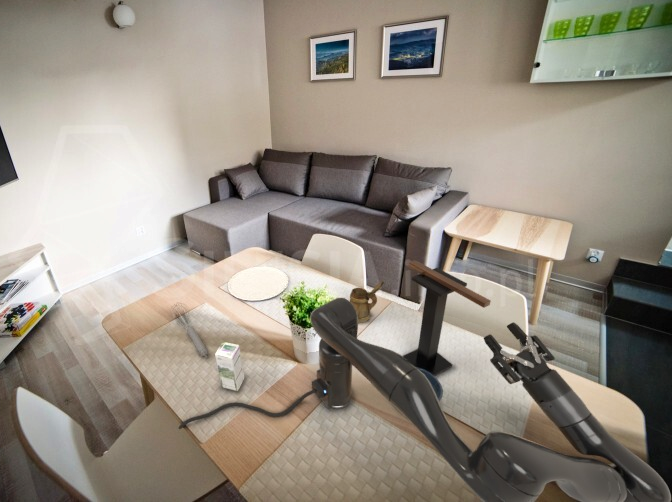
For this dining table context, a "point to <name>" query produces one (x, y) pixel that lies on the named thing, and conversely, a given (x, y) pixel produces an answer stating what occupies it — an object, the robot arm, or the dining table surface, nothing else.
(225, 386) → the syrup box
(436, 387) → the bowl
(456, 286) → the stirring paddle
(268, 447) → the dining table surface
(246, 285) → the plate
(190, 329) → the kitchen whisk
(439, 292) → the stand
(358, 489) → the dining table surface
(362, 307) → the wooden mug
